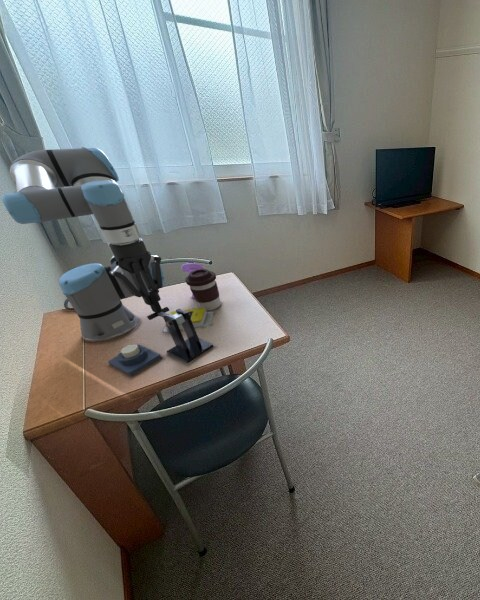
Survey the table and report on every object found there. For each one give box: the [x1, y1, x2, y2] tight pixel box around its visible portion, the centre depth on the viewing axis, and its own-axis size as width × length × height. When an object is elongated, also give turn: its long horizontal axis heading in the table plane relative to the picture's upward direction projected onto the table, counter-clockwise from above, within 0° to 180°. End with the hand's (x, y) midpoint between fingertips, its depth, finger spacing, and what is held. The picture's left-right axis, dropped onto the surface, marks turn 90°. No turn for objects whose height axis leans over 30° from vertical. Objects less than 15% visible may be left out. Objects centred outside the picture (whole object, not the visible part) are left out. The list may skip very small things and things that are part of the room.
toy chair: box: [181, 262, 205, 299], centre depth 131 cm, size 8×9×15 cm
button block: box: [107, 344, 163, 377], centre depth 98 cm, size 11×9×4 cm
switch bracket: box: [162, 308, 214, 364], centre depth 100 cm, size 10×9×15 cm
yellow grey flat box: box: [162, 307, 214, 333], centre depth 116 cm, size 9×4×15 cm
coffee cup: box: [184, 268, 221, 311], centre depth 122 cm, size 10×10×15 cm
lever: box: [146, 306, 185, 325], centre depth 99 cm, size 12×6×2 cm, turn 64°
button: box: [120, 344, 140, 358], centre depth 96 cm, size 4×4×2 cm
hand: (157, 311), depth 100 cm, fingers closed
